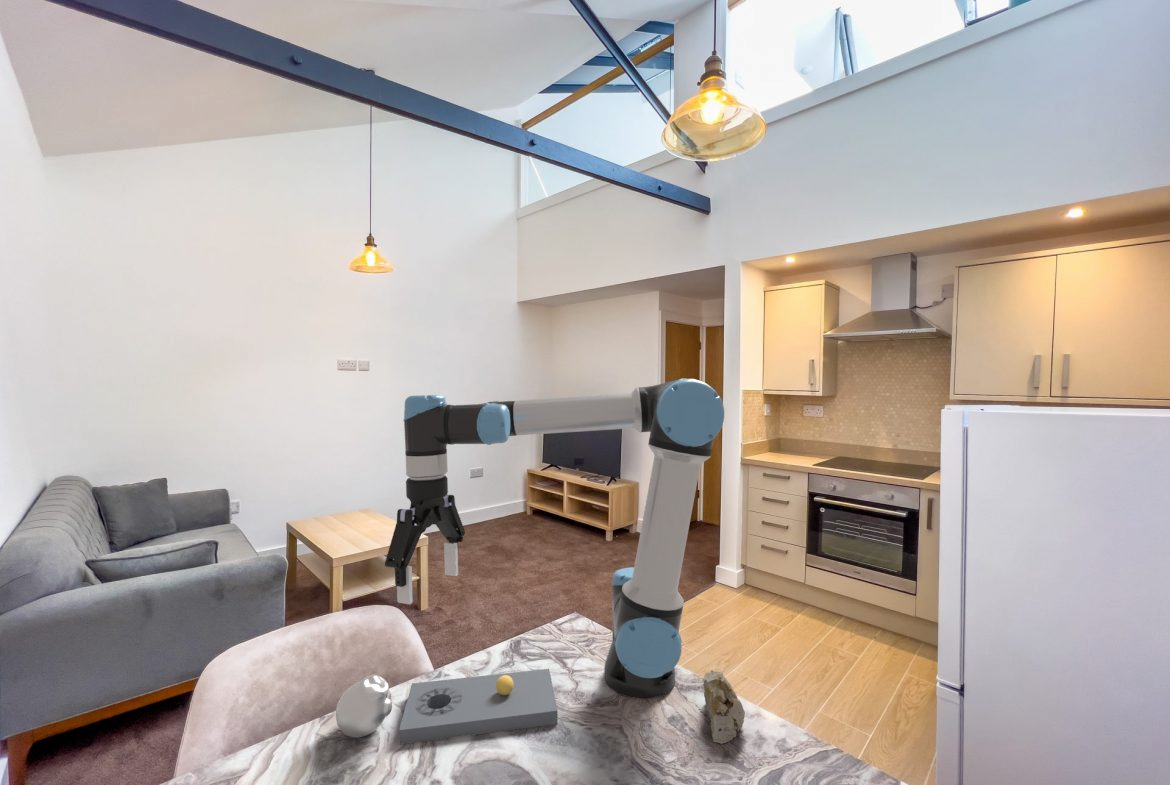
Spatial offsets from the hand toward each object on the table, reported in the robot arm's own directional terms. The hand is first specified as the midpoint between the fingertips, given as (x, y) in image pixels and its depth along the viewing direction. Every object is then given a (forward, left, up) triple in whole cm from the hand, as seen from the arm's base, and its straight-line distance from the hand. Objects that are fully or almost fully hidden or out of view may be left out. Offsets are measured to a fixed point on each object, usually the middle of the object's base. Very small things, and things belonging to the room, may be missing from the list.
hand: (429, 588), depth 94 cm
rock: (-55, +2, -25) cm, 61 cm away
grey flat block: (-9, -2, -25) cm, 26 cm away
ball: (-14, -3, -20) cm, 25 cm away
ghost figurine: (+11, +4, -25) cm, 27 cm away
